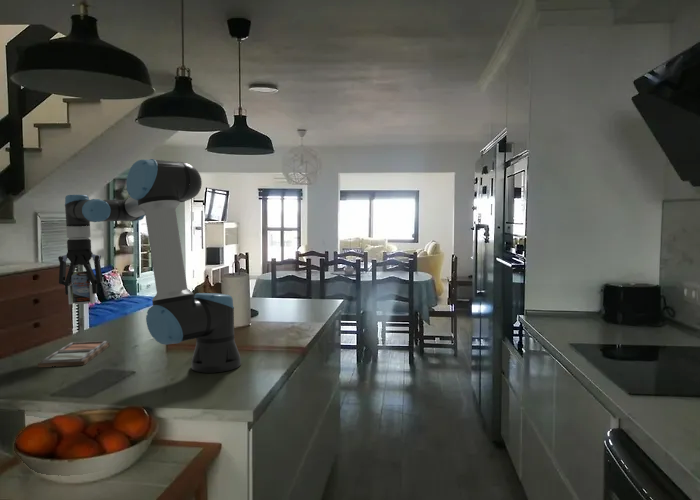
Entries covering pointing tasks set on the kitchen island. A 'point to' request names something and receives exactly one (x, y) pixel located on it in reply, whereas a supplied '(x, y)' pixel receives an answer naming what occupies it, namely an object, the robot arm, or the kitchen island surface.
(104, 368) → the kitchen island surface
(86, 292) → the beverage can
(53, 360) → the framed panel board
